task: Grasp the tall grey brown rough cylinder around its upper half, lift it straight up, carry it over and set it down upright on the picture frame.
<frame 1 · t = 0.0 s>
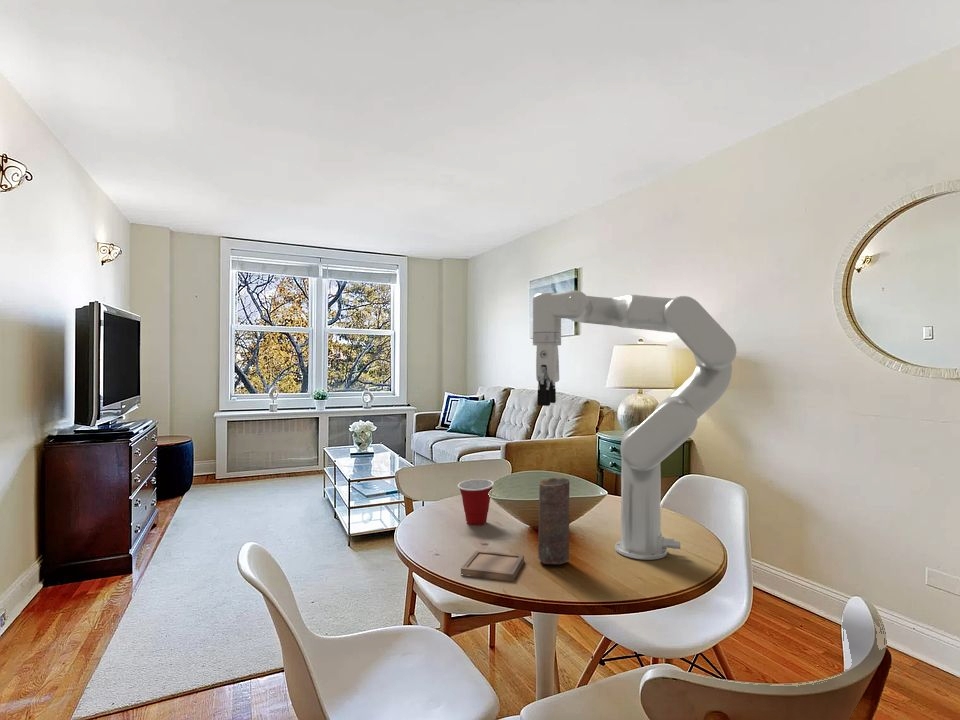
hand: (546, 404, 142), 37 cm above the table, tool pointing down, fingers open, 9 cm apart
picture frame: (493, 568, 124), on the table
grey brown rough cylinder: (553, 564, 127), on the table
plastic cup: (475, 523, 159), on the table
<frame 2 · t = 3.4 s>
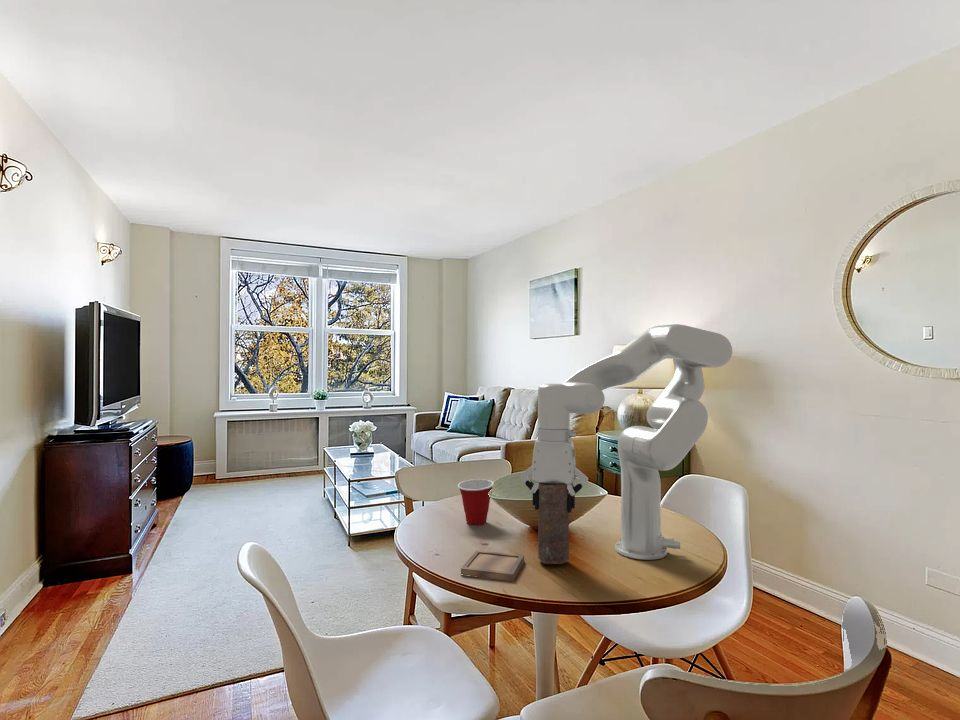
hand: (553, 509, 127), 13 cm above the table, tool pointing down, fingers closed on grey brown rough cylinder, 7 cm apart
grey brown rough cylinder: (553, 563, 127), on the table, touching gripper
everything else where it was.
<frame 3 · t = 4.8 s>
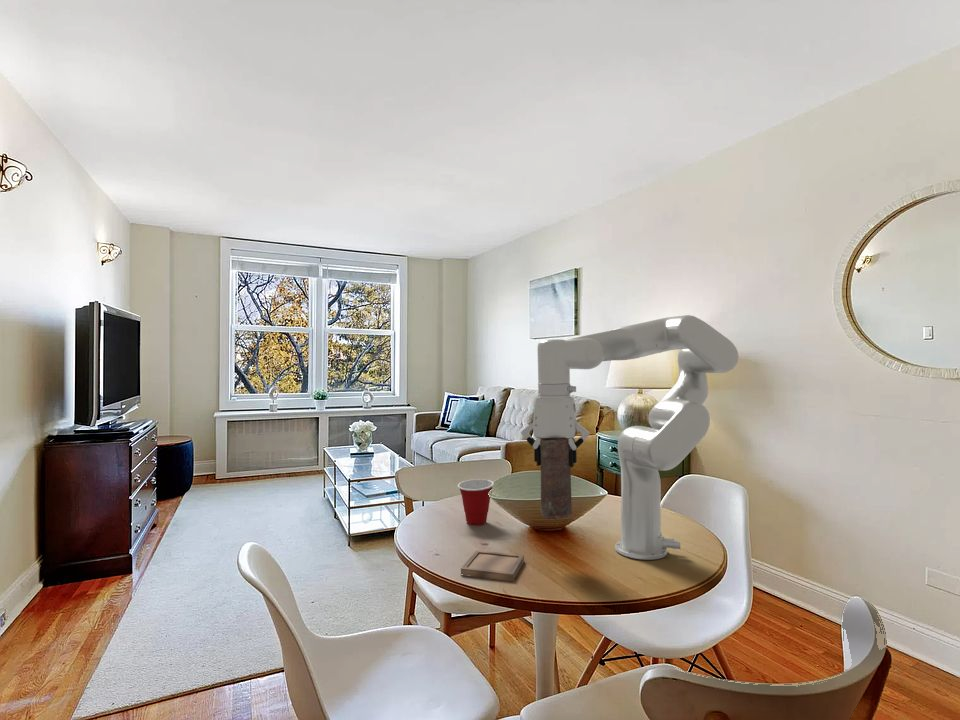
hand: (555, 464, 127), 23 cm above the table, tool pointing down, fingers closed on grey brown rough cylinder, 7 cm apart
grey brown rough cylinder: (556, 519, 127), point 10 cm above the table, touching gripper
everything else where it was.
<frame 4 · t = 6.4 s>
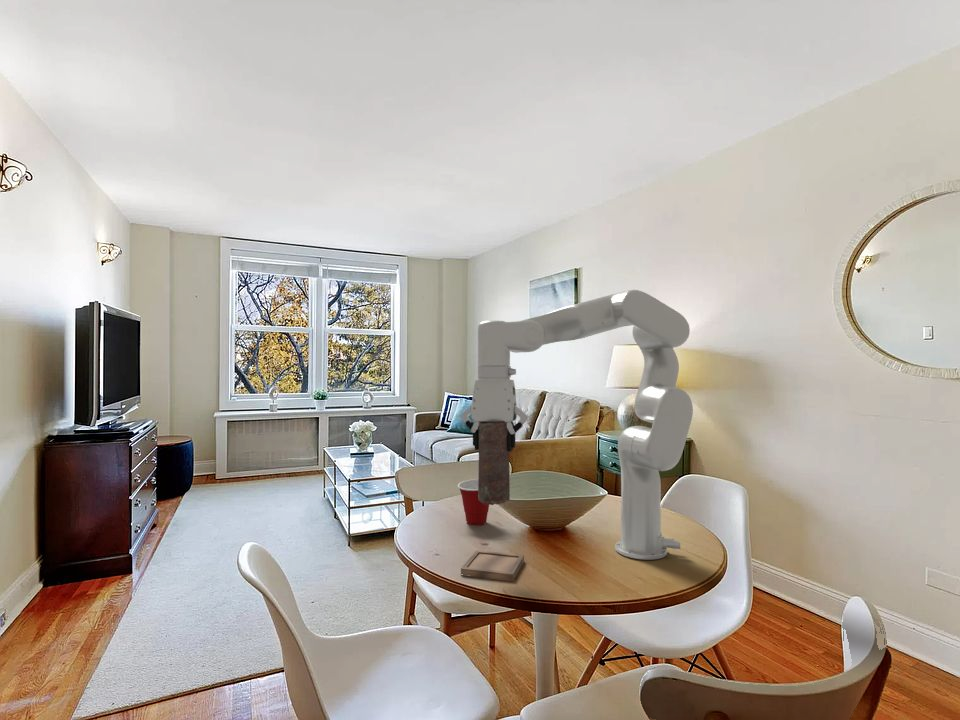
hand: (494, 449, 124), 28 cm above the table, tool pointing down, fingers closed on grey brown rough cylinder, 7 cm apart
grey brown rough cylinder: (494, 505, 124), point 15 cm above the table, touching gripper
everything else where it was.
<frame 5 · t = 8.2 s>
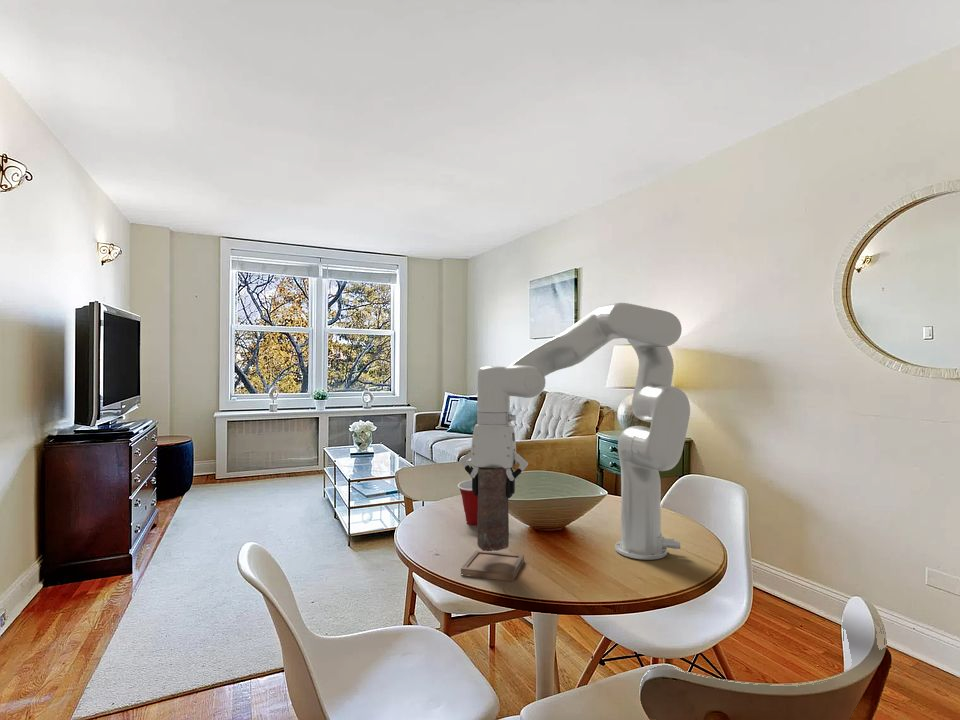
hand: (493, 494, 124), 17 cm above the table, tool pointing down, fingers closed on grey brown rough cylinder, 7 cm apart
grey brown rough cylinder: (493, 550, 124), point 4 cm above the table, touching gripper
everything else where it was.
when the fingers open (14 cm above the table, at t = 9.8 s): grey brown rough cylinder stays where it is, resting on picture frame.
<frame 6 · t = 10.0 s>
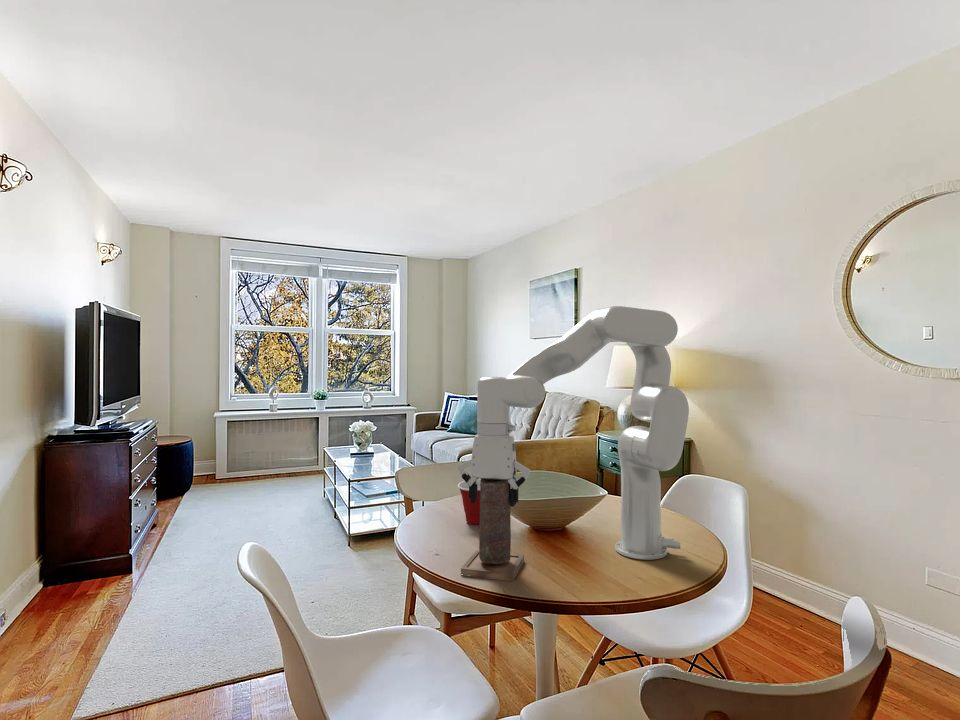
hand: (493, 503, 124), 15 cm above the table, tool pointing down, fingers open, 9 cm apart
grey brown rough cylinder: (494, 563, 124), point 1 cm above the table, touching picture frame
everything else where it was.
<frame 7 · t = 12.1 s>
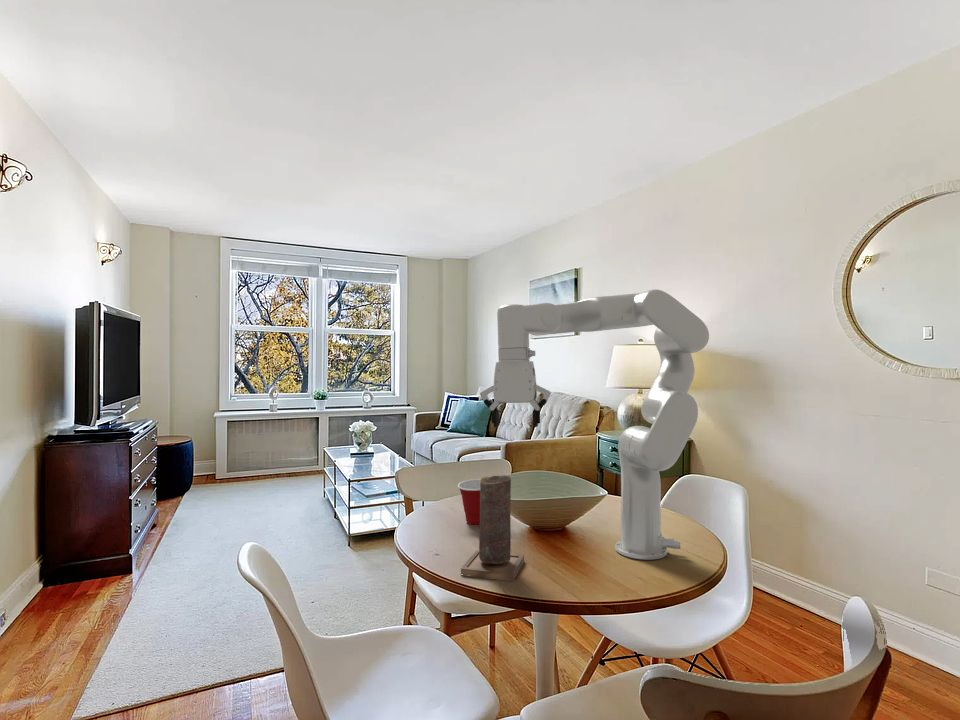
hand: (515, 426, 129), 32 cm above the table, tool pointing down, fingers open, 9 cm apart
nothing on the table moved.
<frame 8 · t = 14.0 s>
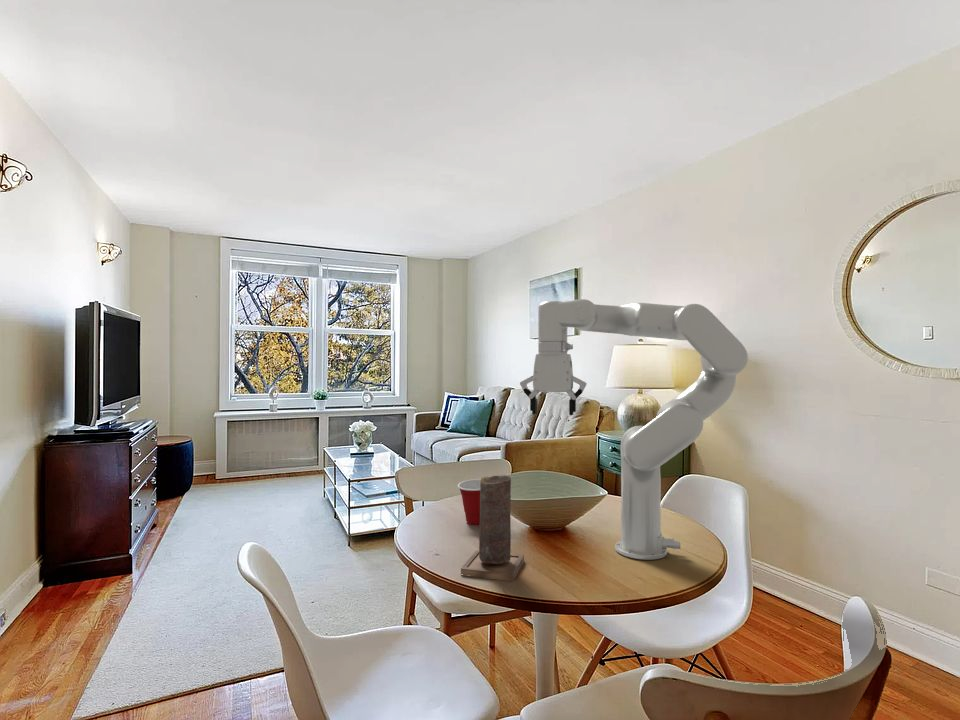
hand: (552, 414, 139), 34 cm above the table, tool pointing down, fingers open, 9 cm apart
nothing on the table moved.
at the end: grey brown rough cylinder inside the target area on the picture frame (0.3 cm from its centre), point 1.0 cm above the picture frame's base; grey brown rough cylinder tilted 0°; the gripper is holding nothing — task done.
